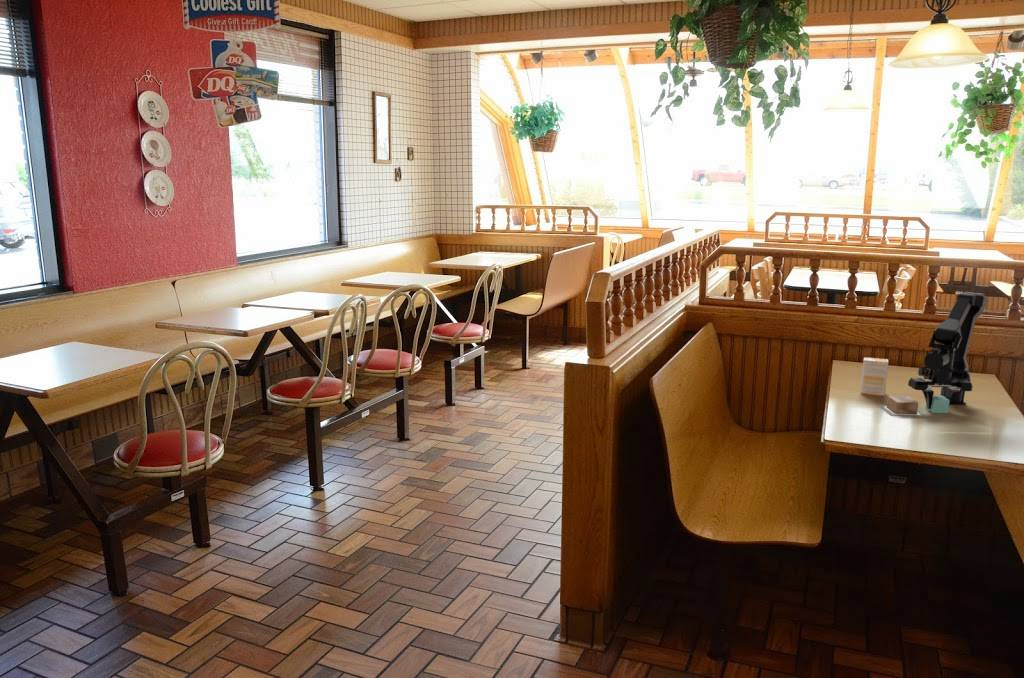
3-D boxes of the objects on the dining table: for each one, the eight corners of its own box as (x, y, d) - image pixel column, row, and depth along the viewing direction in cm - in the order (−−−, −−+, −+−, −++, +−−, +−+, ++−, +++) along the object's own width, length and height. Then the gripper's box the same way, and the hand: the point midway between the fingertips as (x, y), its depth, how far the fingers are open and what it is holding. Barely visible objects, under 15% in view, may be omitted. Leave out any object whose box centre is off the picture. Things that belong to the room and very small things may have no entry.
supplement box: (884, 394, 288) (888, 359, 285) (884, 397, 284) (888, 362, 281) (860, 391, 292) (863, 356, 289) (859, 394, 287) (863, 359, 284)
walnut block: (907, 407, 271) (909, 396, 271) (916, 414, 265) (918, 402, 264) (886, 407, 272) (888, 395, 271) (895, 413, 265) (897, 402, 264)
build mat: (911, 406, 274) (911, 405, 274) (927, 417, 262) (928, 416, 262) (876, 405, 274) (876, 404, 274) (890, 417, 263) (891, 415, 263)
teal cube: (940, 409, 271) (942, 395, 270) (947, 414, 266) (949, 400, 265) (925, 409, 271) (927, 395, 270) (932, 413, 266) (934, 399, 265)
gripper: (959, 358, 272) (953, 402, 276) (904, 357, 273) (898, 400, 277) (976, 367, 262) (969, 412, 265) (918, 366, 262) (912, 411, 266)
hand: (936, 408), depth 269 cm, fingers closed on teal cube, 5 cm apart
